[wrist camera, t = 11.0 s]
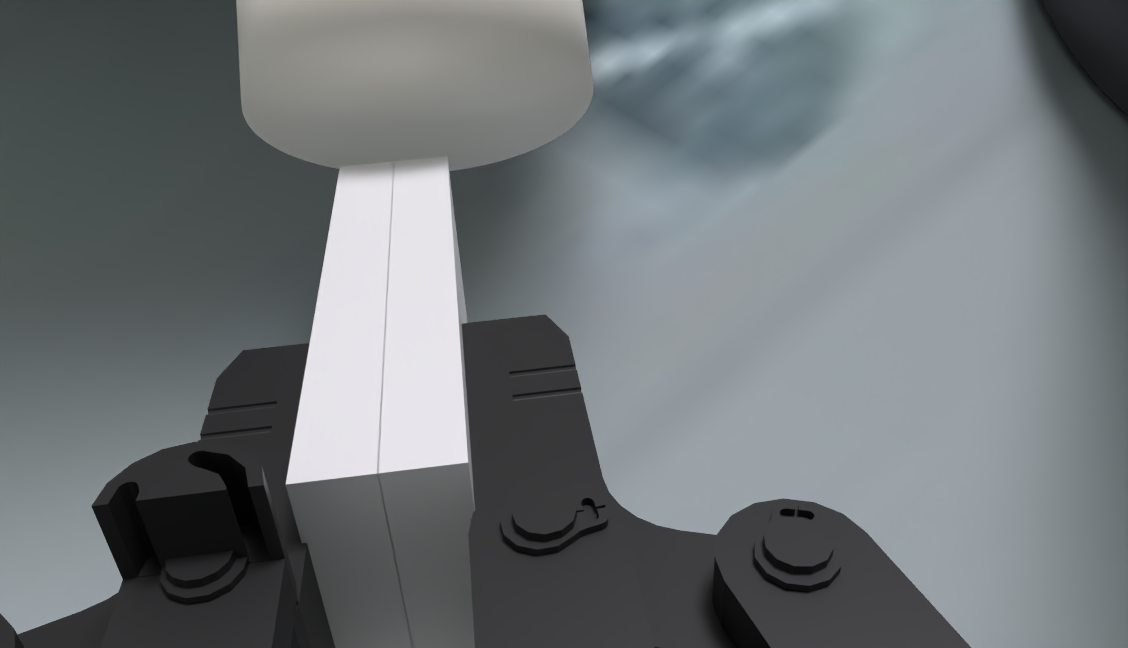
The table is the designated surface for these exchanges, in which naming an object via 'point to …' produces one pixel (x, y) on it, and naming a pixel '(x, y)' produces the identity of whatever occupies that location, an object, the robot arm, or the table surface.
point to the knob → (412, 77)
